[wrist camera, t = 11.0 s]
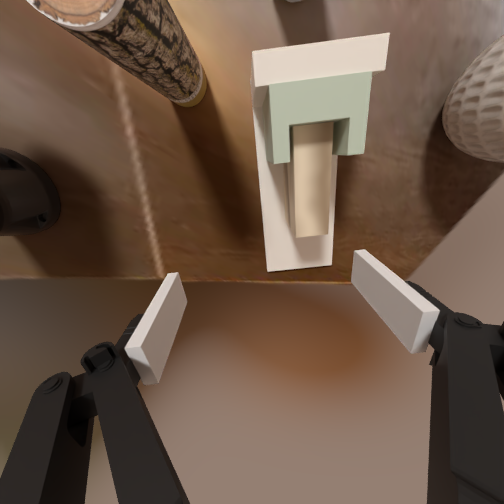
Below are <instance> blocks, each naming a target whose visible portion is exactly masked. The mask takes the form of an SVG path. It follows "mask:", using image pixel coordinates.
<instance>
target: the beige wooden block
mask: <svg viewBox="0 0 504 504" xmlns="http://www.w3.org/2000/svg"><path fill="white" fill-rule="evenodd" d="M333 124H334V121H333V122H325V123H316V124H308V125H300V126H293V127H291V128H289V142H290V162H287V163H283V173H284V197H285V219H286V221H287V223H288V225H289V227H290V228H291V230H292V232H293V234H294V236H295V237H296V238H298V237H307V236H317V235H326V234H328V229H329V208H330V187H331V166H332V145H333Z"/></svg>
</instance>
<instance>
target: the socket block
mask: <svg viewBox="0 0 504 504" xmlns="http://www.w3.org/2000/svg"><path fill="white" fill-rule="evenodd" d="M371 79H372V71H368V72H360V73H353V74H345V75H337V76H330V77H322V78H314V79H306V80H299V81H291V82H283V83H275V84H269V86H268V89H267V92H266V96H265V99H264V102H263V105H262V109H263V123H264V136H265V150H266V161H268V162H271V163H273V164H279V163H287V162H290V142H289V128H291V127H293V126H300V125H308V124H316V123H325V122H333V121H334V124H333V145H332V155H355V154H363V153H364V148H365V138H366V128H367V118H368V109H369V99H370V89H371Z"/></svg>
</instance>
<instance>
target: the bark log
mask: <svg viewBox="0 0 504 504" xmlns="http://www.w3.org/2000/svg"><path fill="white" fill-rule="evenodd" d="M27 1H28V2H29V3H30V4H31V5H32V6H33V7H34V8H36V9H37V10H38V11H39V12H41V13H42V14H43V15H45V16H46V17H47V18H49V19H50V20H52V21H53V22H55V23H56V24H58V25H59V26H61V27H62V28H64V29H65V30H67V31H68V32H70V33H71V34H73V35H74V36H76V37H77V38H78V39H80V40H81V41H83V42H84V43H86V44H87V45H89V46H90V47H92V48H93V49H95V50H96V51H98V52H99V53H101V54H102V55H104V56H105V57H107V58H108V59H110V60H111V61H113V62H114V63H116V64H117V65H119V66H120V67H122V68H123V69H125V70H126V71H128V72H129V73H131V74H132V75H134V76H135V77H137V78H138V79H140V80H141V81H143V82H144V83H146V84H147V85H149V86H150V87H152V88H153V89H155V90H156V91H158V92H159V93H161V94H162V95H164V96H165V97H167V98H168V99H170V100H171V101H173V102H174V103H176V104H178V105H180V106H183V107H192V106H195V105H197V104H198V103H199V102H200V101H201V100H202V99H203V97H204V95H205V92H206V87H207V80H206V74H205V71H204V69H203V67H202V65H201V63H200V61H199V59H198V57H197V55H196V53H195V51H194V49H193V47H192V45H191V44H190V42H189V40H188V38H187V36H186V34H185V32H184V30H183V28H182V27H181V25H180V23H179V21H178V19H177V17H176V15H175V13H174V11H173V10H172V8H171V6H170V4H169V2H168V0H27Z"/></svg>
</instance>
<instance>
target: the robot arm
mask: <svg viewBox="0 0 504 504" xmlns="http://www.w3.org/2000/svg"><path fill="white" fill-rule="evenodd" d="M59 214H60V200H59V196H58V193H57V190H56V188H55V186H54V184H53V183H52V181H51V180H50V178H49V177H48V176H47V174H46V173H45V172H44V171H43V170H42V169H41V168H40V167H39V166H38V165H37V164H35V163H34V162H33V161H31V160H30V159H28V158H27V157H25V156H23V155H21V154H19V153H17V152H15V151H12V150H9V149H4V148H0V236H15V235H29V234H34V233H37V232H40V231H43V230H45V229H48V228H49V227H51V226H52V225H53V224H54V223H55V222H56V221H57V219H58V217H59ZM351 282H352V284H353V285H354V286H355V287H356V288H357V290H358V291H359V292H360V293H361V294H362V296H363V297H364V298H365V299H366V300H367V301H368V303H369V304H370V305H371V306H372V307H373V309H374V310H375V311H376V312H377V313H378V315H379V316H380V317H381V318H382V320H383V321H384V322H385V323H386V324H387V326H388V327H389V328H390V329H391V330H392V332H393V333H394V334H395V335H396V336H397V338H398V339H399V340H400V341H401V342H402V344H403V345H404V346H405V347H406V348H407V350H408V351H409V352H410V353H420V352H426V349H427V346H428V343H429V344H430V345H431V346H432V347H433V348H434V349H435V350H434V353H433V356H432V359H431V361H430V364H429V365H432V367H433V368H432V390H431V416H430V441H429V466H428V491H427V504H504V411H503V407H502V402H501V397H500V394H501V396H502V398H503V400H504V322H503V324H502V326H500V325H490V324H483V323H482V322H481V321H479V320H478V319H476V318H474V317H472V316H469V315H467V314H464V313H458V312H456V313H454V312H453V311H452V310H450V309H449V308H448V307H446V306H445V305H444V304H442V303H441V302H440V301H438V300H437V299H436V298H434V297H432V295H431V294H429V293H428V292H426V291H425V290H424V289H423V288H422V287H420V286H419V285H417V284H415V283H412V282H410V281H405V282H404V281H403V280H402V279H401V278H399V277H398V276H397V275H396V274H394V273H393V272H392V271H391V270H389V269H388V268H387V267H386V266H385V265H383V264H382V263H381V262H380V261H378V260H377V259H376V258H375V257H373V256H372V255H371V254H370V253H369V252H367V251H366V250H365V249H364V250H356V251H354V259H353V268H352V278H351ZM186 304H187V299H186V296H185V293H184V289H183V286H182V283H181V280H180V276H179V273H178V272H176V273H168V274H167V276H166V278H165V280H164V281H163V283H162V285H161V286H160V288H159V290H158V292H157V293H156V295H155V297H154V298H153V300H152V302H151V304H150V305H149V307H148V309H147V311H146V312H145V314H138V315H137V316H136V317H135V318H134V319H133V320H131V322H130V323H129V325H128V326H127V329H126V330H125V331H124V333H123V335H122V336H121V338H120V339H119V341H118V342H117V344H116V345H115V346H114V344H112V343H111V342H103V343H101V344H98V345H95V346H94V347H92V348H91V349H89V350H88V351H87V352H86V353H85V354H84V355H83V357H82V359H81V365H82V366H83V368H84V369H85V371H86V373H83V374H80V375H77V376H75V377H72V376H71V375H70V374H69V373H68V372H61V373H58V374H55V375H53V376H52V377H49V378H48V379H47V380H45V381H44V382H43V383H42V384H41V385H40V386H39V387H38V388H37V389H36V390H35V392H34V394H33V396H32V399H31V401H30V404H29V406H28V409H27V411H26V414H25V417H24V419H23V422H22V424H21V427H20V429H19V432H18V434H17V437H16V440H15V442H14V445H13V447H12V450H11V452H10V455H9V458H8V460H7V463H6V465H5V468H4V470H3V473H2V475H1V478H0V504H85V494H86V485H87V478H88V477H87V476H88V468H89V460H90V451H91V443H92V433H93V425H94V416H96V415H98V416H99V421H100V425H101V430H102V434H103V438H104V442H105V446H106V451H107V455H108V459H109V464H110V468H111V472H112V477H113V481H114V485H115V489H116V494H117V498H118V502H119V504H190V502H189V500H188V498H187V496H186V493H185V491H184V489H183V487H182V485H181V482H180V480H179V478H178V476H177V473H176V471H175V469H174V467H173V465H172V462H171V460H170V458H169V456H168V454H167V451H166V449H165V447H164V445H163V443H162V440H161V438H160V436H159V434H158V431H157V429H156V427H155V425H154V423H153V420H152V418H151V416H150V413H149V411H148V409H147V407H146V405H145V402H144V400H143V398H142V396H141V394H140V391H139V389H138V387H137V385H138V382H139V380H140V379H141V380H142V382H143V384H144V385H152V384H159V381H160V378H161V376H162V373H163V370H164V367H165V364H166V361H167V358H168V356H169V353H170V350H171V347H172V344H173V341H174V338H175V336H176V332H177V330H178V327H179V324H180V321H181V318H182V315H183V312H184V310H185V307H186Z"/></svg>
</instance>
